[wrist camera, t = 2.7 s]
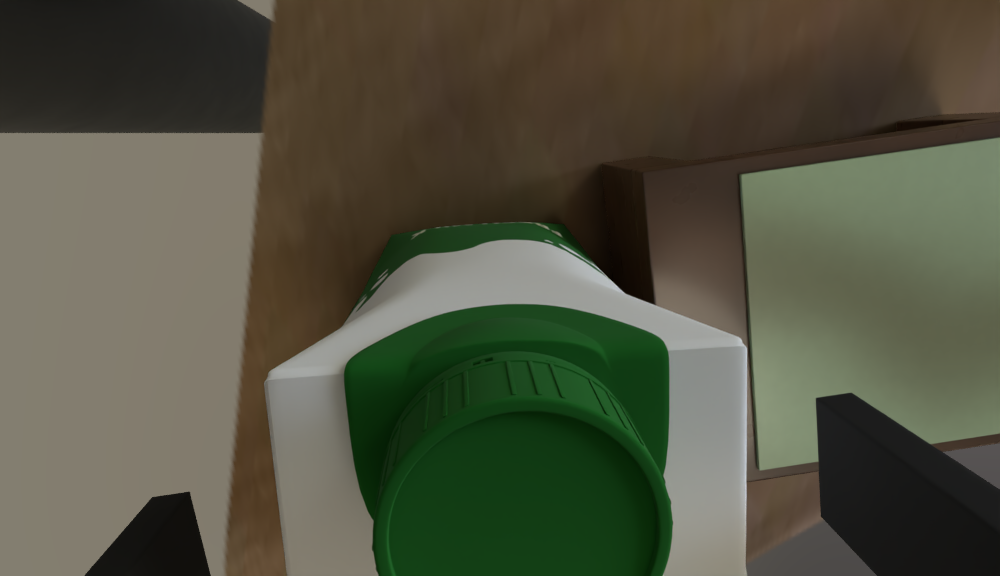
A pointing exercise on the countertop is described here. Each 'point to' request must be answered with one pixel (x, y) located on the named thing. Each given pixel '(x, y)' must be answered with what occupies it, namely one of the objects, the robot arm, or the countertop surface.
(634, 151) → the countertop surface
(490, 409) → the milk carton
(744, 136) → the countertop surface
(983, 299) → the brown wooden stand
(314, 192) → the countertop surface
